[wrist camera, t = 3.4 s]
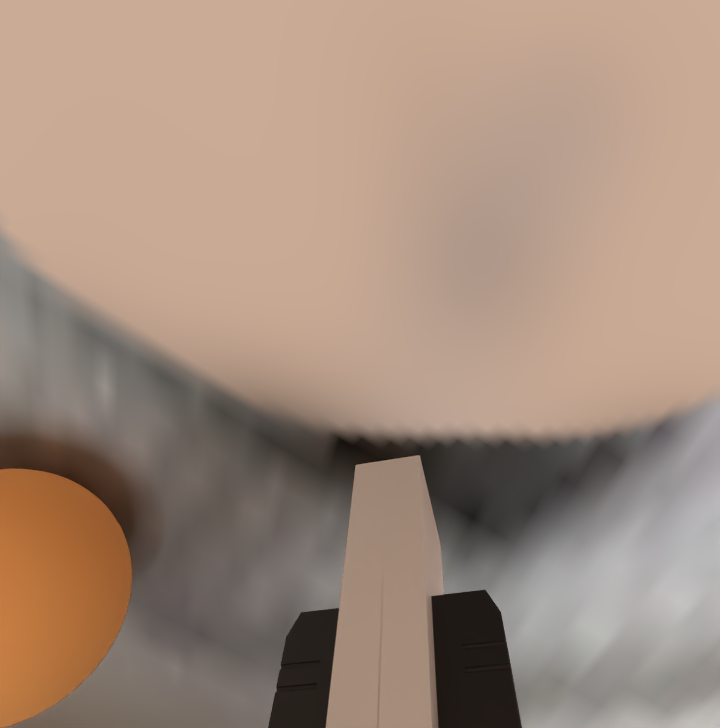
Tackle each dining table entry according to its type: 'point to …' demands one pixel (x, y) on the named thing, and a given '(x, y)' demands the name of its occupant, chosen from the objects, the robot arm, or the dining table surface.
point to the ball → (55, 589)
